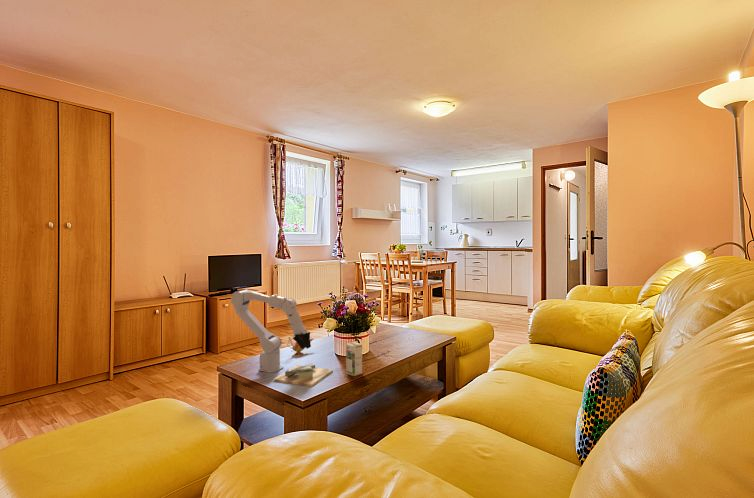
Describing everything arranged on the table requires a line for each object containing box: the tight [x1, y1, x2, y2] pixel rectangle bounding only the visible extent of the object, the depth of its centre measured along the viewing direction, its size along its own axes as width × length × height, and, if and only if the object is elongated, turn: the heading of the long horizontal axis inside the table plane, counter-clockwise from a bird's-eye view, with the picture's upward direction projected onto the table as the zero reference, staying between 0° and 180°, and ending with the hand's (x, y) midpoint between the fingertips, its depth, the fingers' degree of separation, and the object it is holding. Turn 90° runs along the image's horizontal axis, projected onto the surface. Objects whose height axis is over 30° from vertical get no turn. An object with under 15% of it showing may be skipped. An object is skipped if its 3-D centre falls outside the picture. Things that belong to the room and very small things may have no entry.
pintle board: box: [272, 365, 334, 387], centre depth 176 cm, size 20×20×2 cm
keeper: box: [297, 367, 313, 379], centre depth 172 cm, size 6×4×4 cm, turn 110°
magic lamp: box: [286, 336, 314, 357], centre depth 212 cm, size 7×18×11 cm, turn 137°
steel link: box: [284, 363, 316, 377], centre depth 176 cm, size 16×4×2 cm, turn 140°
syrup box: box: [345, 341, 363, 377], centre depth 179 cm, size 6×6×14 cm
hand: (306, 348), depth 183 cm, fingers open, 7 cm apart
